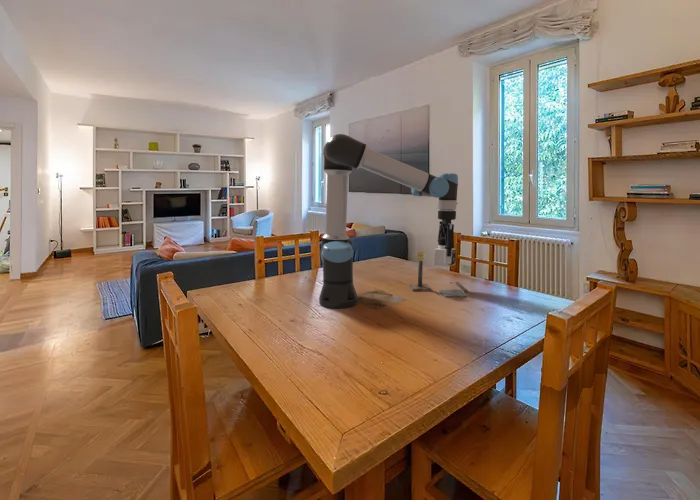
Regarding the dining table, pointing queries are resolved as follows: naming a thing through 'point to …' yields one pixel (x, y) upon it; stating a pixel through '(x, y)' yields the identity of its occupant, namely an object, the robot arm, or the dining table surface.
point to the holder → (425, 286)
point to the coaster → (453, 293)
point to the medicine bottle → (443, 254)
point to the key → (421, 255)
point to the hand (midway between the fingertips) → (444, 261)
